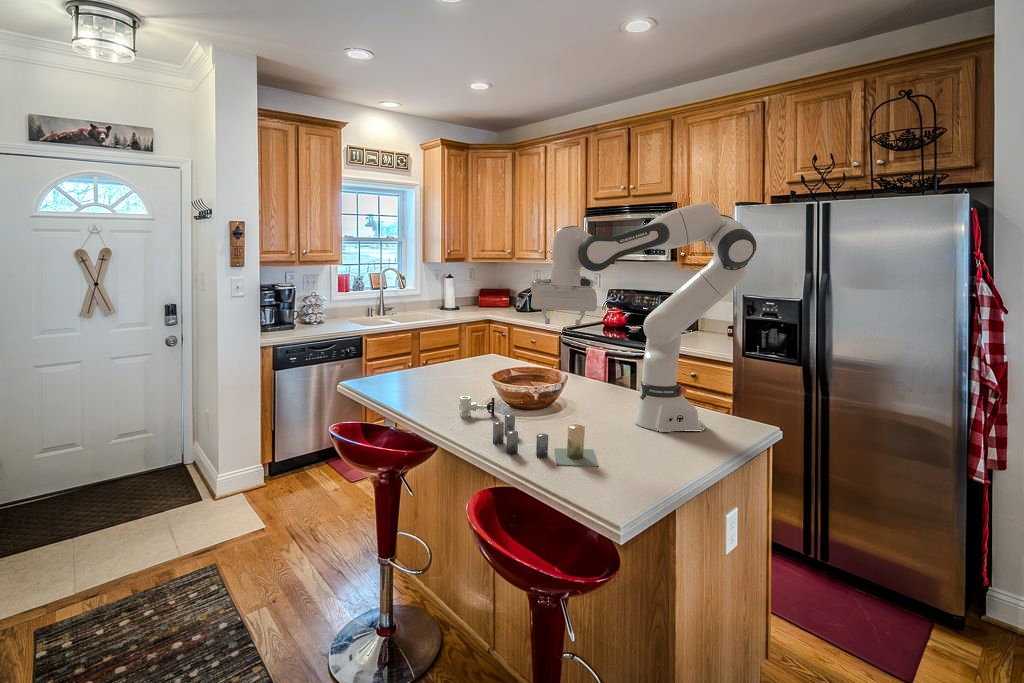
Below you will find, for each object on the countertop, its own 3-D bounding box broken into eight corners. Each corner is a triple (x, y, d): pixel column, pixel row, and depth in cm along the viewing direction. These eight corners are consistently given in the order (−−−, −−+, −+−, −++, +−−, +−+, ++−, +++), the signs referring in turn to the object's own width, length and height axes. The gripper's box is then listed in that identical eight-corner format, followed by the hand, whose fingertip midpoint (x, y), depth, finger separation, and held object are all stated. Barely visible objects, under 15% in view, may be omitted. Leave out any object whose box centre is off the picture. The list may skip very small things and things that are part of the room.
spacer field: (511, 431, 168) (512, 413, 167) (549, 457, 147) (550, 436, 147) (483, 435, 164) (483, 417, 163) (518, 462, 143) (519, 441, 142)
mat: (592, 450, 154) (592, 449, 153) (598, 466, 142) (598, 465, 142) (554, 449, 154) (554, 448, 154) (556, 465, 142) (556, 464, 142)
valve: (458, 419, 180) (494, 419, 181) (458, 399, 179) (494, 400, 180) (459, 413, 187) (494, 413, 187) (459, 394, 186) (494, 395, 186)
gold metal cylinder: (582, 453, 150) (583, 424, 149) (584, 459, 145) (585, 429, 144) (566, 453, 150) (567, 424, 149) (567, 459, 146) (568, 429, 144)
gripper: (531, 278, 161) (529, 324, 163) (599, 281, 161) (596, 327, 162) (530, 278, 167) (528, 322, 169) (596, 281, 167) (593, 325, 169)
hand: (562, 324), depth 166 cm, fingers open, 8 cm apart
